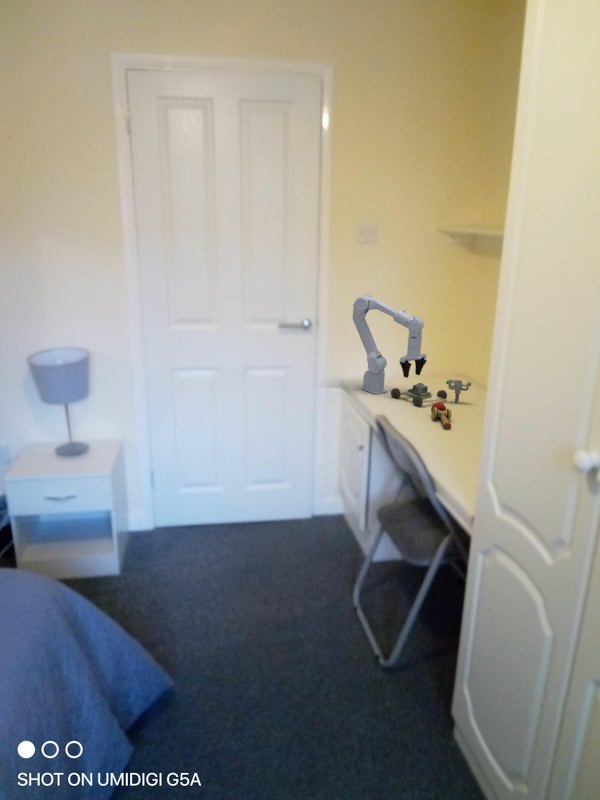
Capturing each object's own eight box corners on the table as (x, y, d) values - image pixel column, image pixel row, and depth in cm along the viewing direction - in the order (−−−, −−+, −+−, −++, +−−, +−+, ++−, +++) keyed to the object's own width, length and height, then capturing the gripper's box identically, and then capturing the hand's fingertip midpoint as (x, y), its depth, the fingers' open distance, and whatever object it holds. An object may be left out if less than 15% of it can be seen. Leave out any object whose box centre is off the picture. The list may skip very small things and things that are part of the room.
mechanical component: (468, 405, 256) (471, 382, 253) (444, 403, 258) (446, 380, 255) (468, 403, 259) (470, 381, 256) (444, 401, 261) (446, 379, 258)
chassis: (388, 396, 265) (389, 386, 264) (415, 390, 275) (415, 381, 274) (421, 408, 250) (422, 398, 249) (448, 401, 260) (449, 392, 259)
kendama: (458, 432, 228) (447, 411, 244) (457, 418, 225) (446, 397, 241) (438, 435, 228) (428, 414, 244) (437, 421, 225) (427, 400, 241)
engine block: (412, 395, 263) (412, 385, 261) (418, 394, 265) (419, 383, 264) (420, 398, 259) (421, 387, 257) (426, 397, 261) (427, 386, 260)
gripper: (409, 349, 252) (406, 380, 256) (432, 345, 261) (429, 375, 265) (397, 346, 258) (395, 376, 262) (420, 342, 266) (417, 372, 270)
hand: (411, 375), depth 264 cm, fingers open, 7 cm apart
